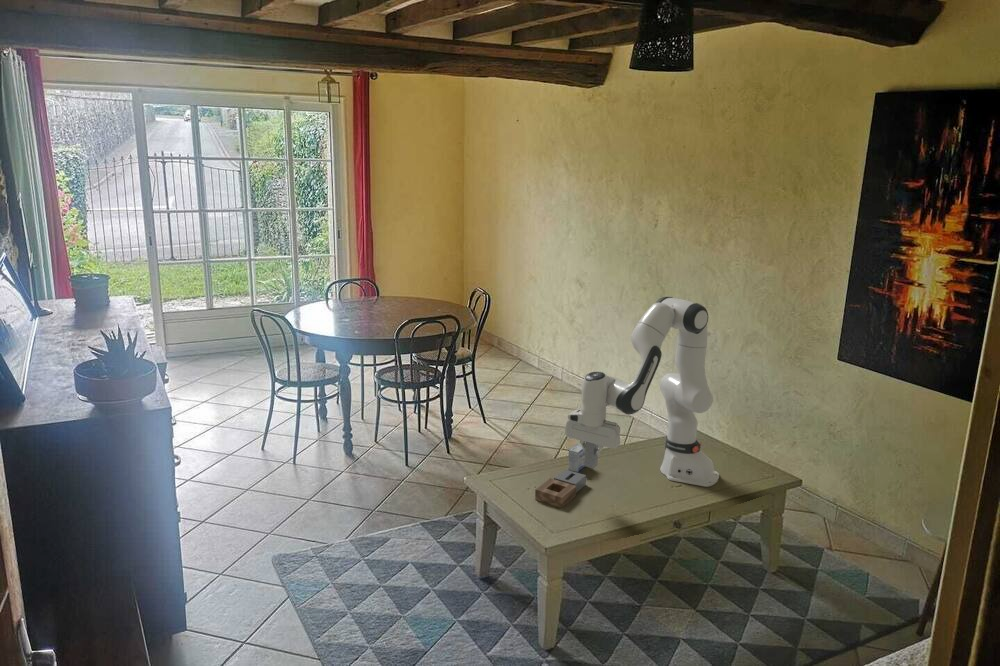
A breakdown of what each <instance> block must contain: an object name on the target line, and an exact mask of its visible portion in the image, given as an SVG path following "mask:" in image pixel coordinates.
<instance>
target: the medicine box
mask: <svg viewBox="0 0 1000 666" xmlns="http://www.w3.org/2000/svg"><path fill="white" fill-rule="evenodd" d="M567 464H568V465H567V470H570V471H573V472H577V473H580V471H581V470H582V469H584V468H585V467H586V466H585V452H583V448H582V446H581V444H580V443H576V445H574V446H572V448H570V449H569V450H568V463H567Z"/></svg>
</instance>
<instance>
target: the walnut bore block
mask: <svg viewBox="0 0 1000 666" xmlns="http://www.w3.org/2000/svg"><path fill="white" fill-rule="evenodd" d="M534 495H535V496H534V500H536V501H539V502H543V503H545V504H548V505H552V506H554V507H558V508H561V509H562V508H564V507H565V506H566V505H567V504H568V503H570V502H571V501H572V500H573V499H574V498H575V497H576V496H577V493H576V486H575V485H571V484H568V483H565V482H561V481H558V480H555V479H554V478H549V479H547V480H546V481H544V482H543V483H541V485H539V486H538V487H536V489H535V493H534Z"/></svg>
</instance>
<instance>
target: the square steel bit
mask: <svg viewBox="0 0 1000 666" xmlns="http://www.w3.org/2000/svg"><path fill="white" fill-rule="evenodd" d="M585 444H586V445H585V466H584V467H587V468H590V469H594V468H595V467H597V466H598V457H599V456H596V455H595V451H596V450H597V449H599V448H598V445H596V444H594V443H590V442H585Z"/></svg>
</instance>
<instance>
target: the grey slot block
mask: <svg viewBox="0 0 1000 666" xmlns="http://www.w3.org/2000/svg"><path fill="white" fill-rule="evenodd" d="M553 479H555V480H558V481H561V482H565V483H568V484H571V485H575V486H576V494H577V492H579V491H580V490H582V488H584V487H585V486H586V485H587V484H586V482H587V475H586V474H583V473H580V472H575V471H571V470H568V469H566V468H565V469H563V470H562V471H561V472H560V473H558V474H557V475H555V476H553Z"/></svg>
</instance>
